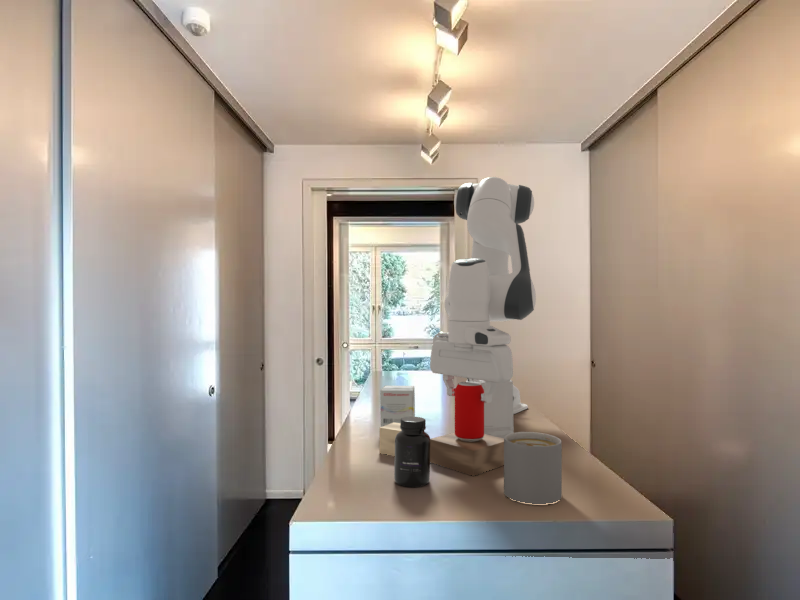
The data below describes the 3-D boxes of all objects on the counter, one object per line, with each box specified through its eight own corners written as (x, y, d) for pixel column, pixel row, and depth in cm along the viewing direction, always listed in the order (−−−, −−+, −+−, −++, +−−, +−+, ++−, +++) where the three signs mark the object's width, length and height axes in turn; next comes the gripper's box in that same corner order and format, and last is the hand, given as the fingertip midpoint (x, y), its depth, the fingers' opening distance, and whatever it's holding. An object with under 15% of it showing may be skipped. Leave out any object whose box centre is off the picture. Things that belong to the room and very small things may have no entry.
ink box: (415, 428, 142) (415, 384, 142) (413, 436, 133) (413, 389, 133) (384, 427, 143) (384, 383, 143) (379, 435, 134) (379, 389, 134)
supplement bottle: (404, 490, 95) (404, 424, 95) (388, 479, 101) (388, 417, 101) (437, 484, 98) (437, 420, 98) (419, 473, 104) (419, 413, 104)
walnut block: (465, 451, 120) (465, 429, 120) (509, 463, 111) (509, 439, 111) (429, 462, 112) (429, 438, 112) (473, 476, 103) (473, 450, 103)
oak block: (393, 447, 123) (394, 422, 123) (415, 451, 120) (415, 425, 120) (379, 454, 118) (379, 427, 118) (402, 458, 115) (402, 431, 115)
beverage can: (486, 443, 108) (486, 385, 108) (455, 443, 108) (456, 385, 108) (482, 435, 114) (482, 380, 114) (453, 435, 114) (453, 380, 114)
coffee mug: (571, 505, 88) (571, 445, 88) (513, 507, 88) (513, 447, 88) (542, 478, 102) (542, 426, 102) (492, 479, 101) (492, 428, 101)
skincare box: (508, 434, 135) (508, 376, 135) (514, 440, 129) (514, 380, 129) (476, 434, 135) (476, 377, 135) (480, 440, 129) (480, 380, 129)
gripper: (423, 332, 117) (423, 393, 117) (498, 337, 102) (498, 408, 102) (443, 330, 121) (442, 390, 121) (517, 336, 106) (517, 404, 106)
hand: (468, 398), depth 111 cm, fingers open, 8 cm apart
